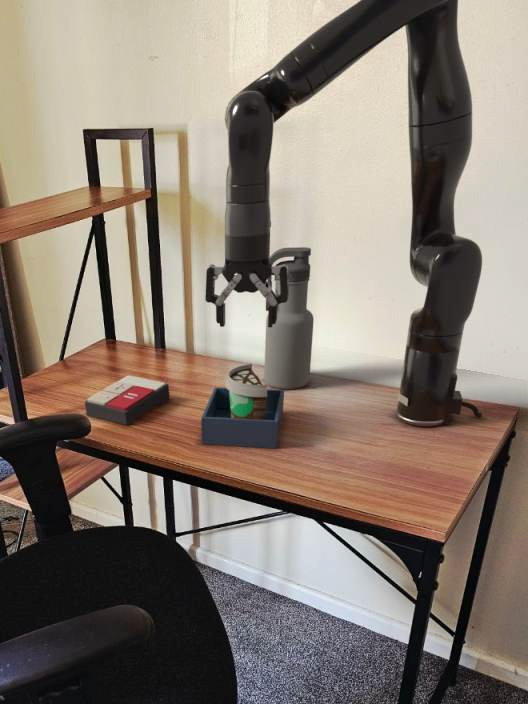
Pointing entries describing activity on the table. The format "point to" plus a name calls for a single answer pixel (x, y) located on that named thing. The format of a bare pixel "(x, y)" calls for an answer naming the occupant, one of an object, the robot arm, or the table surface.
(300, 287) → the water bottle
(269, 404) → the tote
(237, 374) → the food container
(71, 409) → the table surface
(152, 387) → the calculator
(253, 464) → the table surface
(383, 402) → the table surface
